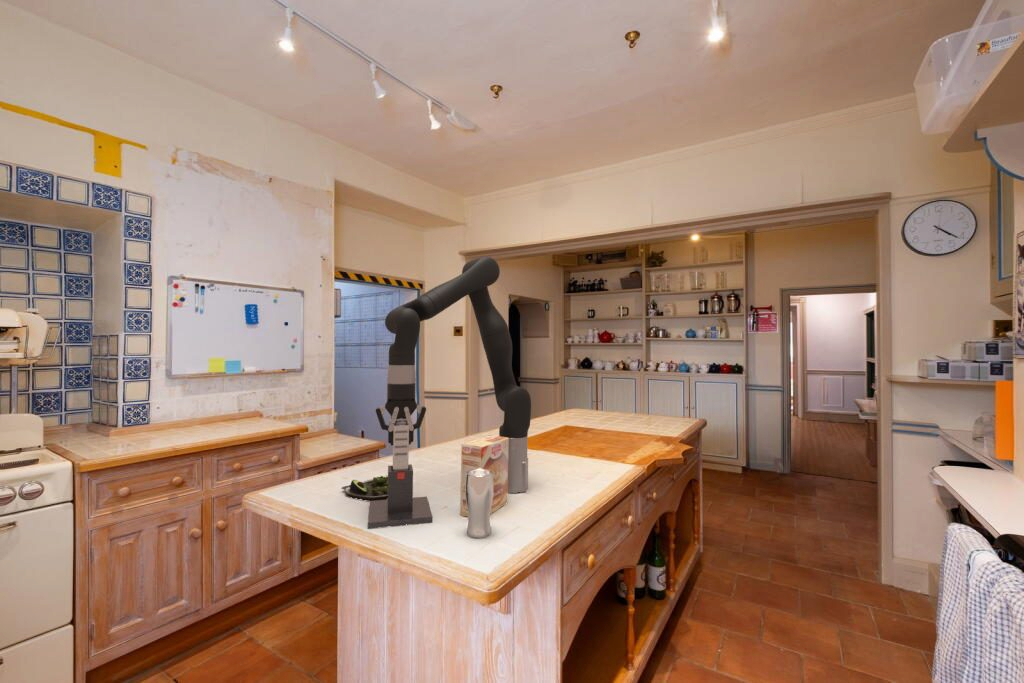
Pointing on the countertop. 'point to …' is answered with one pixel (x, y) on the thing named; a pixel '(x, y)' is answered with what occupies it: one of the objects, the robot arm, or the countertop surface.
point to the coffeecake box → (486, 467)
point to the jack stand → (399, 503)
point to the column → (400, 445)
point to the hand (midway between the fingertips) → (400, 444)
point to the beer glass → (479, 501)
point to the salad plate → (368, 489)
